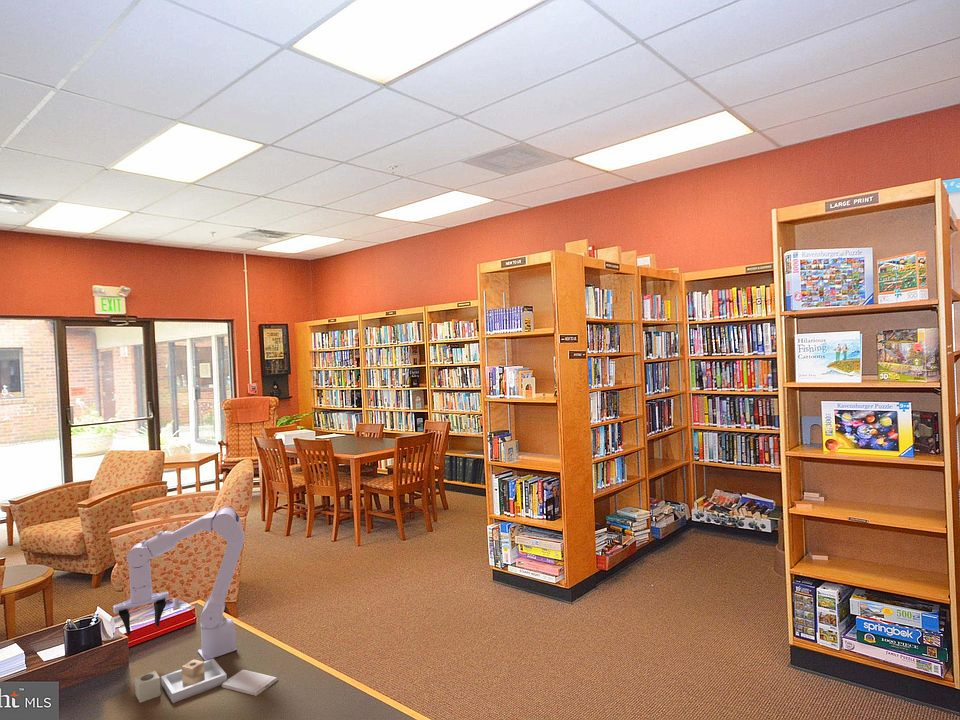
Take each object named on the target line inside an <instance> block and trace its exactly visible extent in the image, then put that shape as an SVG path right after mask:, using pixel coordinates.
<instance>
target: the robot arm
mask: <svg viewBox="0 0 960 720" xmlns="http://www.w3.org/2000/svg"><path fill="white" fill-rule="evenodd" d="M202 531H204V532H208V533H212V531H214V532H215V533H217V534H218V535H219V536H221V537H222V538H223V539H224V540H225V542H226V543H227V545H226V549H225V552H224V554H223V558H222V560H221V564H220V565H219V569H218V572H217V576H216V579H215V582H214V584H213V587H212V591H211V594H210V596H209V598H208V599H207V600H206V601H205V602H204V605H203V609H202V612H201V614H200V617H199V623H200V639H201V640H200V641H201V648H200V649H198V650H197V653H198V654H199V655H200V656H201V658H202V660H204V661H207V660H210V659H215V658H218V657H221V656H223V655H226V654H229V653H232V652H235V651H237V650H238V648H237V643H236V641H237V638H236V627H235V623H234V620H233V618H226V617H225V615H224V611H225V608H226V602H225V601H226V598H227V595H228V591H229V588H230V586H231V583H232V579H233V577H234V573H235V570H236V567H237V564H238V561H239V558H240V554H241V552H242V550H243V549H242V548H243V546H244V543H245V540H246V535H245V531H244V529H243V525H242V522H241V517H240V515H239V514H238V512H237V511H236V510H235V508H233V507H231V506H223V507H221V508H219V509H218V510H213V511H210V512H209V513H207V514H204V515H202V516H201V517H199V518H197V519H195V520H194V521H190V523H188V524H185V525H184V526H182V527H180V528H178V529H177V530H174V531H171V530H165V531H163V530H161V531H158V532H157V533H156V535H155V536H152V537H151V538H149V539H147V540H146V539H143V540H142V541H141V542H139V543H136V544H134V545H133V547H131V549H130V550H129V551H128V553H127V555H126V559H125V560H126V563H127V564H128V565H129V567H128V568H129V570H128V575H129V592H130V594H129V598H130V599H128V600H126V601H123V602H121V603H118V604H114V605H112V609H113V611H112V612H113V613H114V615H116V614H118V616H119V617H120V618H121V621H122V623H123V626H124V628H125V634H126V635H127V636H130V635H131V625H130V623H131V621H130V619H131V614H130V612H129V610H131V609H136V608H139V607H143V606H146V605H151V604H153V608H154V626H155V627H156V628H158V627H160V622H161V619H162V618H161V617H162V615H163V612H164V610H165V608H166V605H167V602H166V601H168V600H170V596H169V595H170V593H169V592H168V591H163V592H157V593H153V587H152V586H153V583H152V582H153V581H152V580H153V579H152V567H151V559H155V558H157V557H159V556H160V555H164V554H165V553H166V552H167V553H168V551H171V550H173V549H174V548H176V546H177V543H178V542H180V541H183V540H184V539H187V538H189V537H191V536H193V535H195V534H198V533H200V532H202Z"/></svg>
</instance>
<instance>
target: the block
mask: <svg viewBox="0 0 960 720" xmlns="http://www.w3.org/2000/svg"><path fill="white" fill-rule="evenodd" d="M181 669H182V683H183V684H184V685H188V686H190V685H193V684H196V683H198V682H201V681H203V680H205V674H204V661H202V660H198V659H192V660H190V661H188V662H187V663H185V664H184V665H182V666H181Z"/></svg>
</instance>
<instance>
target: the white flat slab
mask: <svg viewBox="0 0 960 720" xmlns="http://www.w3.org/2000/svg"><path fill="white" fill-rule="evenodd" d="M277 681H278V677H276V676H273V675H268V674H264V673H260V672H256V671H251V670H249V669H248V670H247V669H241V670H240V671H238V672H236V673H235V674H234V675H232V676H231V677H229V678H227V680H226V681H225V682H223V683H222V685H221V688H224V689H227V690H231V691H236V692H239V693H244V694H248V695H251V696H255V697H257V696H258V695H259V694H261V693H263V692H264V691H265V690H267V689H268V688H269V687H270V686H272V685H273V684H275V683H276V682H277Z"/></svg>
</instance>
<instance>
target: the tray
mask: <svg viewBox="0 0 960 720" xmlns="http://www.w3.org/2000/svg"><path fill="white" fill-rule="evenodd" d="M203 662H204V674H205V680H203V681H201V682H198V683H196V684H193V685H190V686H188V685H184V684H183V683H182V668H181V669H178V670H175V671H172V672H169V673H167V674H164V675H161V676H160V685H161V686H162V688H163V690H164V691H165V694H166V695H167V696H168V698H169V699H170V701H171V703H172V704H175V703H177V702H180V701H182V700H184V699H188V698H190V697H193V696H195V695H198V694H202V693H204V692H207V691H209V690H212V689H214V688H217V687H220V686H222V683H223V682H225V681H226V680H228V676H227V673H226V672H225V671H224V669H223V668H222V667H221V666H220V665H219V663H218V662H217V661H216V660H215V658H212V659H209V660H206V661H205V660H204V661H203Z"/></svg>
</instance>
